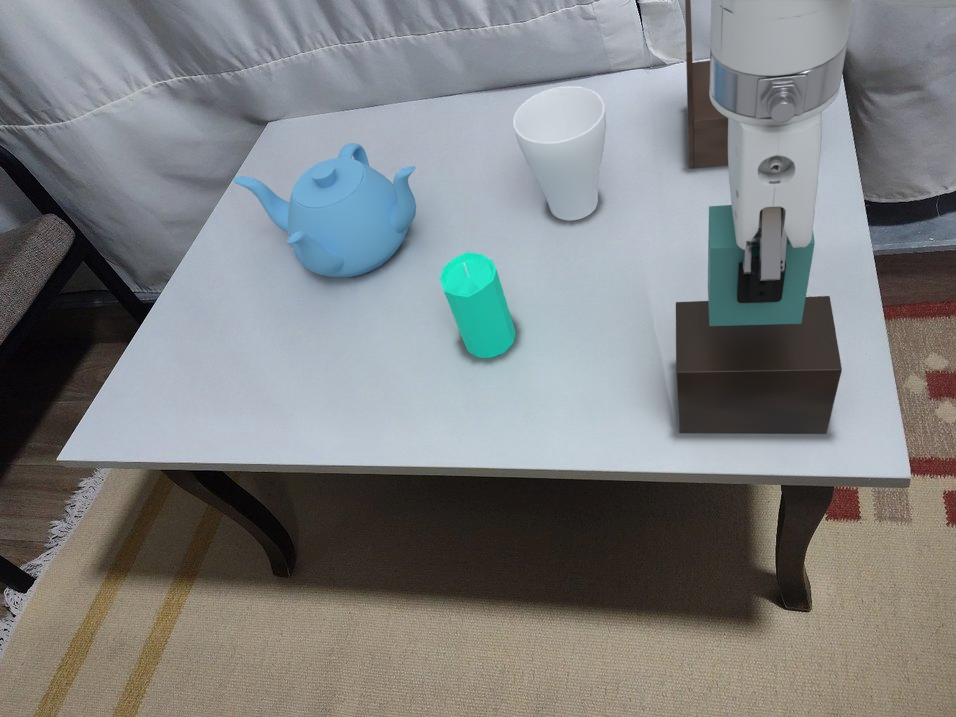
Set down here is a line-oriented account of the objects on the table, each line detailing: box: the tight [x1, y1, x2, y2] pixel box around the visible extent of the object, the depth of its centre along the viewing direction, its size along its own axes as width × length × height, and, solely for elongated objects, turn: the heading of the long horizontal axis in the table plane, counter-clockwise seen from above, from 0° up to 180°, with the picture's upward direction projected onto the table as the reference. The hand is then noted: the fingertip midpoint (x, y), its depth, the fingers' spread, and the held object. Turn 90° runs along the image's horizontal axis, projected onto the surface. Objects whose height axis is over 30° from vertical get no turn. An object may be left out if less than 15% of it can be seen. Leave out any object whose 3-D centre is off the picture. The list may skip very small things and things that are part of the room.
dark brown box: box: [675, 295, 843, 435], centre depth 69 cm, size 13×8×10 cm, turn 81°
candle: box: [439, 251, 517, 359], centre depth 80 cm, size 6×6×12 cm
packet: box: [707, 204, 816, 326], centre depth 59 cm, size 7×4×9 cm, turn 81°
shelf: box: [684, 0, 728, 169], centre depth 90 cm, size 13×12×16 cm
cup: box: [512, 85, 607, 221], centre depth 90 cm, size 10×10×14 cm
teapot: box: [233, 142, 417, 278], centre depth 96 cm, size 17×19×12 cm
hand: (756, 272), depth 59 cm, fingers closed on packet, 4 cm apart
